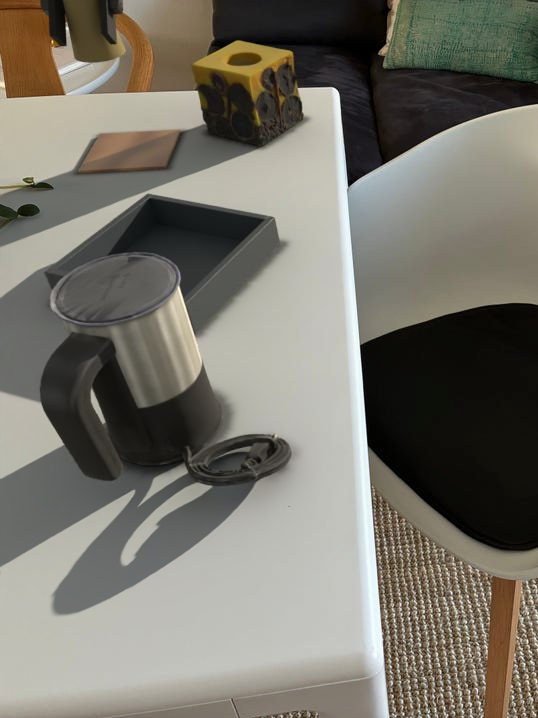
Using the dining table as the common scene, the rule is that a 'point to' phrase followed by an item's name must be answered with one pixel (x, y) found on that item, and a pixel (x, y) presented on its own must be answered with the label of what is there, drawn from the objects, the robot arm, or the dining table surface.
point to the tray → (185, 248)
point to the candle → (248, 92)
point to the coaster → (130, 151)
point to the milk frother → (138, 377)
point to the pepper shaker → (89, 32)
